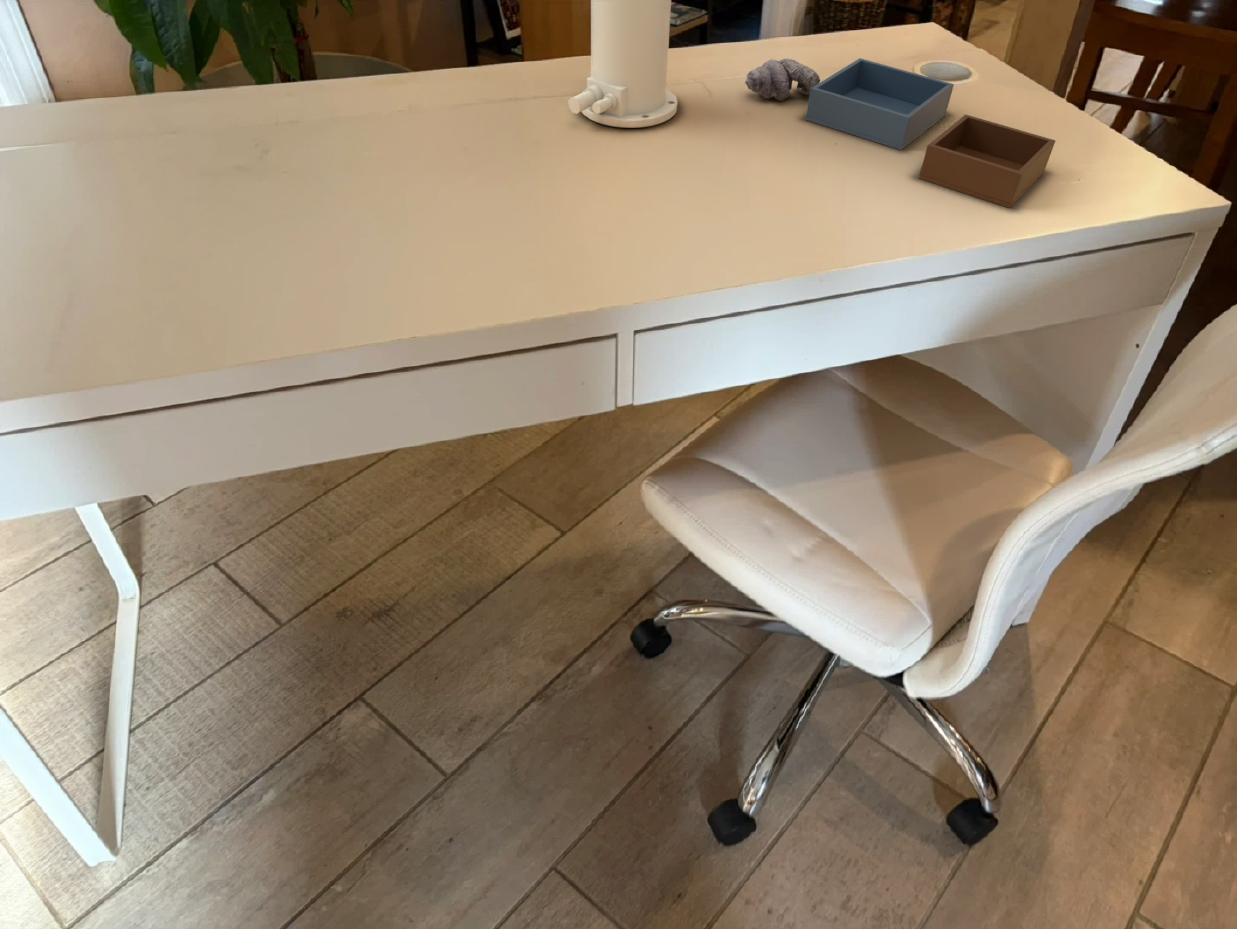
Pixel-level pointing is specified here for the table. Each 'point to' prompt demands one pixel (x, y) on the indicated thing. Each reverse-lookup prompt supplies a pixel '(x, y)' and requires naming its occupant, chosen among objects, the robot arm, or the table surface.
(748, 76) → the grey lumpy piece
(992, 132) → the brown bin
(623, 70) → the robot arm
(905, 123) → the blue bin
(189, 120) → the table surface
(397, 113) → the table surface
